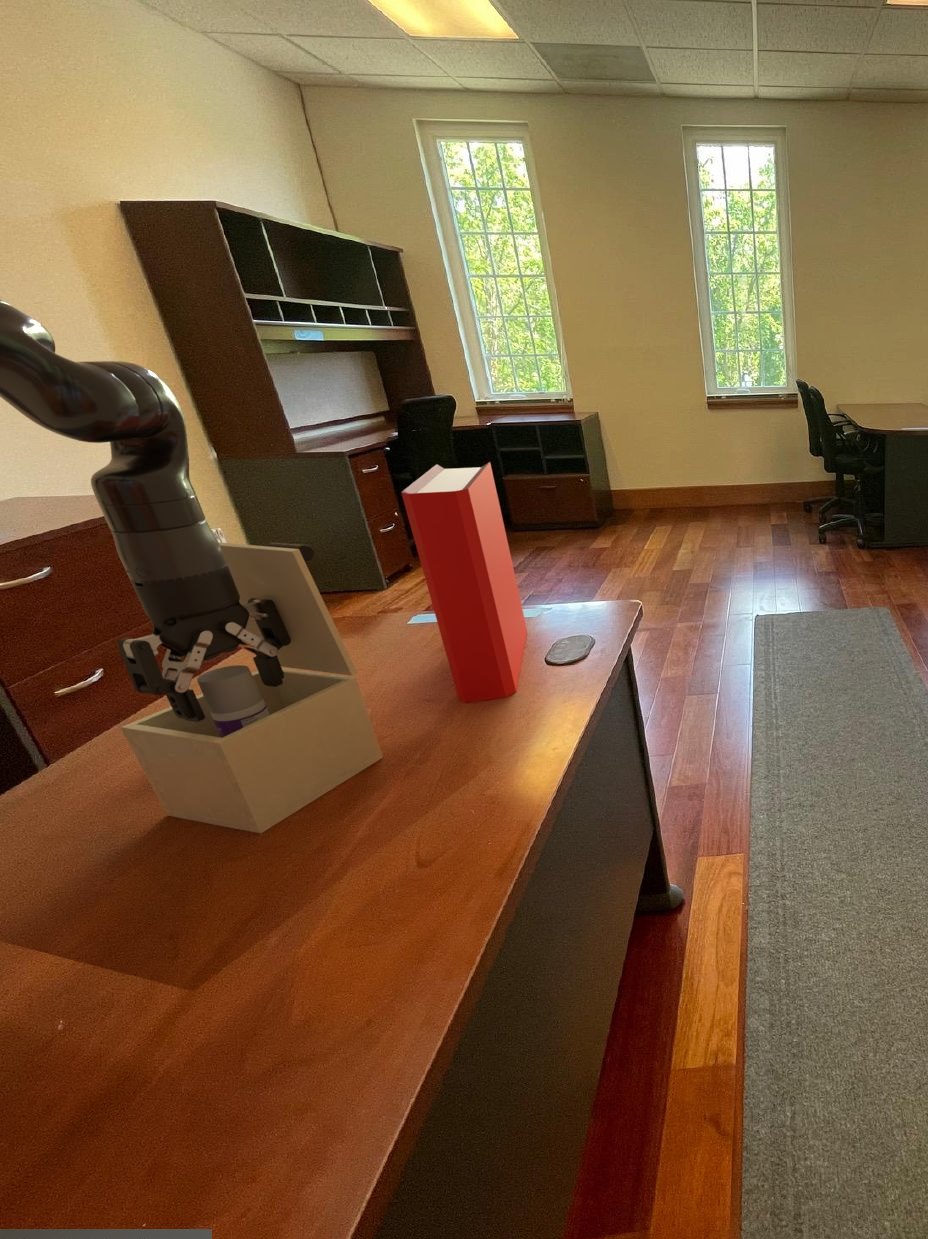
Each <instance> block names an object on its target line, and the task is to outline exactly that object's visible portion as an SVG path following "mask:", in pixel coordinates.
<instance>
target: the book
mask: <svg viewBox="0 0 928 1239" xmlns="http://www.w3.org/2000/svg"><path fill="white" fill-rule="evenodd" d="M401 497H402V500H403V504H404V507H405V511H406V514H407V518H408V522H409V525H410V526H409V527H410V529H411V532H412V536H413V539H414V544H415V547H416V550H417V554H418V557H419V562H420V565H421V569H422V572H423V575H424V579H425V583H426V586H427V590H428V593H429V597H430V601H431V605H432V608H433V612H434V616H435V619H436V622H437V626H438V630H439V633H440V636H441V641H442V644H443V647H444V651H445V655H446V658H447V662H448V666H449V669H450V673H451V676H452V680H453V683H454V688H455V690H456V695H457V698H458V701H459V702H462V703H464V704H469V703H476V702H477V703H478V702H483V701H489V700H495V699H496V700H497V699H504V698H507V697H509V696H511V695H513V694H515V693H517V691H518V685H519V680H520V674H521V669H522V664H523V658H524V654H525V649H526V644H527V639H528V633H527V632H528V629H527V624H526V620H525V619H526V618H525V615H524V610H523V606H522V600H521V597H520V592H519V586H518V582H517V578H516V573H515V569H514V565H513V564H514V563H513V559H512V554H511V551H510V546H509V541H508V537H507V532H506V528H505V524H504V518H503V514H502V509H501V505H500V500H499V496H498V492H497V487H496V483H495V478H494V474H493V469H492V464H491V461H489V462H487V463H486V464H484V465H483V466H481V467H480V466H479V467H477V466H476V467H459V468H457V467H456V468H444V467H442V466H441V465H439V464H437V463H436V464H435V465H434V466H432V467H431V468H430V469H428V471H426V472H424V473H423V475H421V476H420V477H419V478H417V479H416V480H415V481H413V482H412V483H411V484H410V485H409V486H407V487H406V488H405V489H403V490H402V491H401ZM525 643H526V644H525ZM524 648H525V649H524ZM523 653H524V654H523Z"/></svg>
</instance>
